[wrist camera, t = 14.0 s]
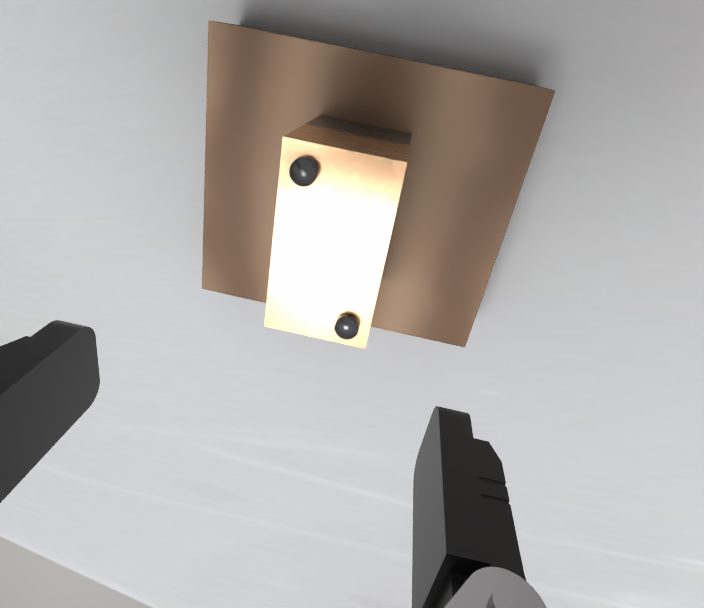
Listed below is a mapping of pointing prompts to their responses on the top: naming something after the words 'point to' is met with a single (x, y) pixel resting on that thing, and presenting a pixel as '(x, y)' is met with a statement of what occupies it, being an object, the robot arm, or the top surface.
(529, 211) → the top surface
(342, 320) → the block
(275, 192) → the walnut stand
